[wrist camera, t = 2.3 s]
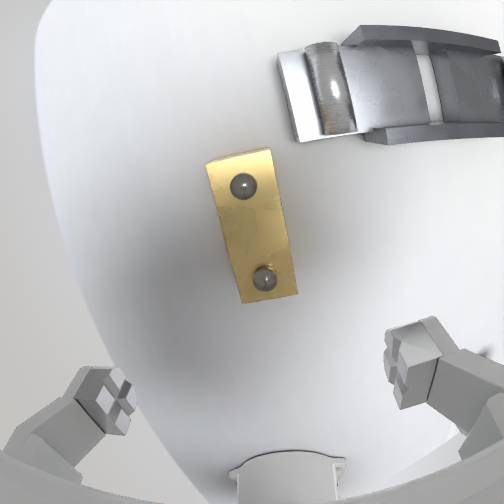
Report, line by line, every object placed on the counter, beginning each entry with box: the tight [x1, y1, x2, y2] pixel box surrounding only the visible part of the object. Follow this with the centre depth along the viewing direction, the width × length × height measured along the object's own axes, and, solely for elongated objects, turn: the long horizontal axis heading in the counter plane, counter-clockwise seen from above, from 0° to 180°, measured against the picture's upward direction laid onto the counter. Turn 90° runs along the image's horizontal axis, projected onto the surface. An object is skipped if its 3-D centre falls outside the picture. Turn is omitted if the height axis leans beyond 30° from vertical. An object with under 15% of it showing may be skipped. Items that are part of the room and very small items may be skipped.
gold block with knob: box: [205, 147, 298, 304], centre depth 21 cm, size 4×10×4 cm, turn 12°
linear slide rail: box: [277, 25, 504, 145], centre depth 15 cm, size 8×22×4 cm, turn 103°
